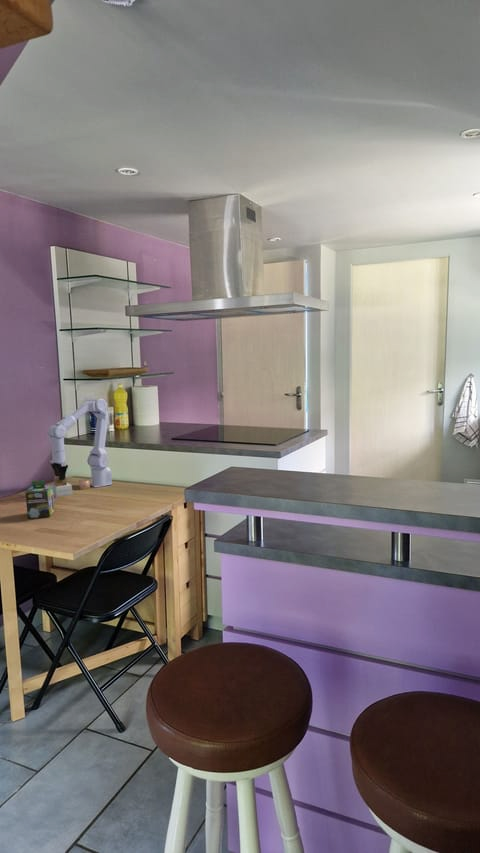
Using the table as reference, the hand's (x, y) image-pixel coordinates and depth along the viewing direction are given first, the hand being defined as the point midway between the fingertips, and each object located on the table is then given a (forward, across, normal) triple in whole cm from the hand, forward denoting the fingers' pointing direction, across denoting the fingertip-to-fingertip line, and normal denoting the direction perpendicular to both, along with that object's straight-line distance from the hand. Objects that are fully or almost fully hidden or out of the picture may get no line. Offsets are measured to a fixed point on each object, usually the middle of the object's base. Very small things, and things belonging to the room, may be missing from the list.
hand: (60, 478), depth 256 cm
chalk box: (+8, +28, -17) cm, 34 cm away
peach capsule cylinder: (+8, -5, +13) cm, 16 cm away
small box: (+8, 0, 0) cm, 8 cm away
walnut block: (+3, 0, 0) cm, 3 cm away
